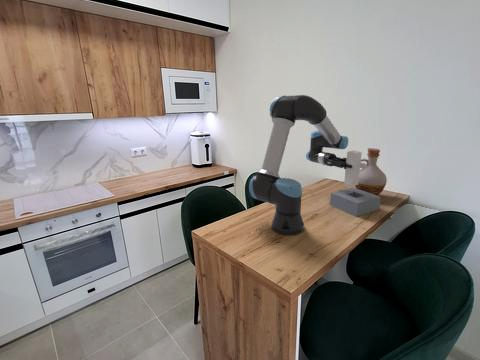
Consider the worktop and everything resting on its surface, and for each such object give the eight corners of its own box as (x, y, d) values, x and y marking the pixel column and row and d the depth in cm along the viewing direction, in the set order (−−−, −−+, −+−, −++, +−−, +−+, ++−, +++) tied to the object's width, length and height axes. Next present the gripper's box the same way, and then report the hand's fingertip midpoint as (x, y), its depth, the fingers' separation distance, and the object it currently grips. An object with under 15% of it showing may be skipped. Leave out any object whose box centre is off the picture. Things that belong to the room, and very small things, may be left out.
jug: (349, 199, 153) (354, 150, 144) (349, 190, 169) (354, 145, 160) (385, 203, 146) (393, 152, 137) (382, 193, 161) (389, 147, 153)
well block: (356, 216, 130) (357, 203, 128) (329, 205, 145) (330, 192, 143) (378, 209, 138) (380, 196, 135) (351, 199, 153) (352, 187, 151)
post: (351, 186, 134) (355, 153, 129) (344, 183, 138) (347, 151, 133) (358, 184, 136) (361, 152, 131) (350, 182, 140) (353, 150, 135)
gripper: (337, 163, 154) (372, 171, 135) (315, 167, 147) (348, 176, 127) (338, 151, 152) (374, 157, 132) (316, 154, 144) (350, 162, 125)
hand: (361, 167), depth 130 cm, fingers closed on post, 5 cm apart
